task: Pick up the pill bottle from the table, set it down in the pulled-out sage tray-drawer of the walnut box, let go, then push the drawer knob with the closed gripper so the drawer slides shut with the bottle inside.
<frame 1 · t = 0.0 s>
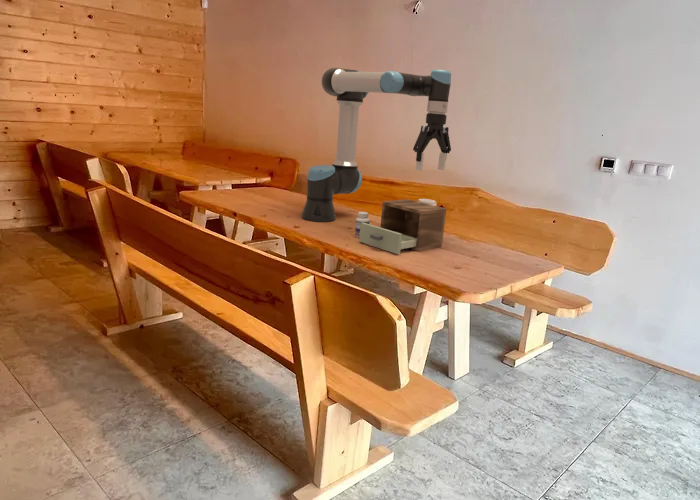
hand: (430, 170, 202), 28 cm above the table, fingers open, 13 cm apart
housing: (410, 242, 203), on the table
coffee cup: (423, 236, 216), on the table
drawer: (389, 236, 194), point 4 cm above the table, slide at 9.5 cm
pill bottle: (361, 237, 207), on the table
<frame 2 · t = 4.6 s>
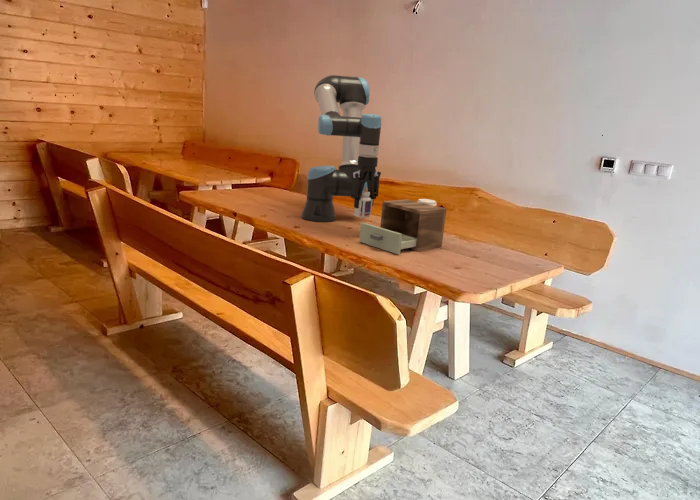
hand: (362, 215, 205), 9 cm above the table, fingers closed on pill bottle, 5 cm apart
pill bottle: (362, 216, 205), point 8 cm above the table, touching gripper
everything else where it was.
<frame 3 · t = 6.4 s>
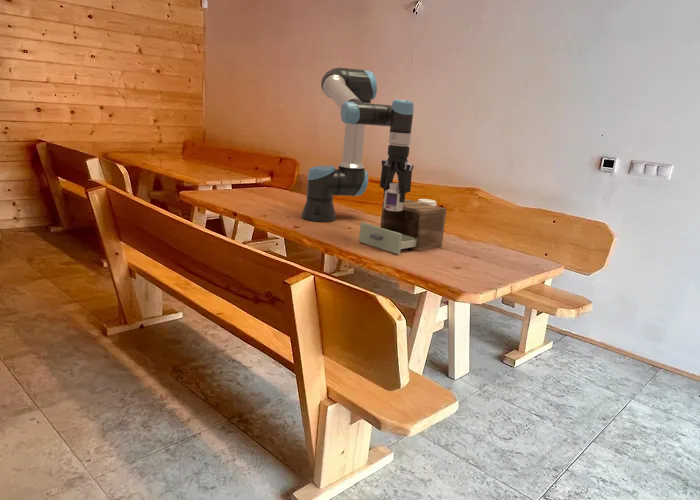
hand: (392, 209, 191), 14 cm above the table, fingers closed on pill bottle, 5 cm apart
pill bottle: (392, 210, 191), point 14 cm above the table, touching gripper
everything else where it was.
when the fingers open (3 cm above the table, at t = 8.6 s): pill bottle stays where it is, resting on drawer.
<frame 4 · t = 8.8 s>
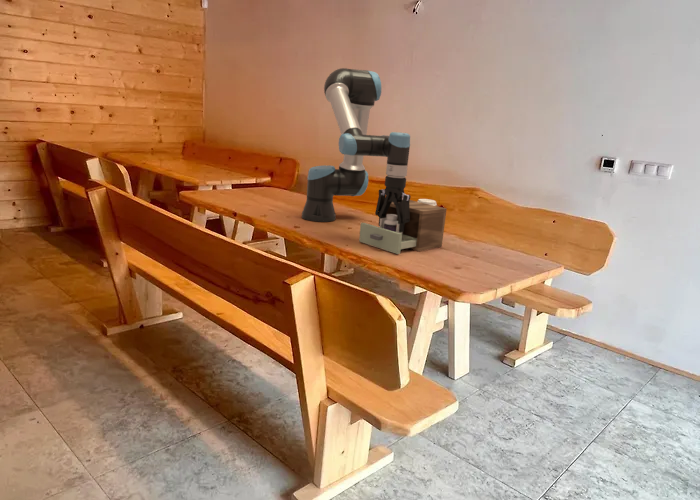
hand: (390, 237, 194), 3 cm above the table, fingers open, 8 cm apart
drawer: (389, 236, 194), point 4 cm above the table, slide at 9.5 cm, touching pill bottle
pill bottle: (389, 241, 194), point 2 cm above the table, touching drawer
everything else where it was.
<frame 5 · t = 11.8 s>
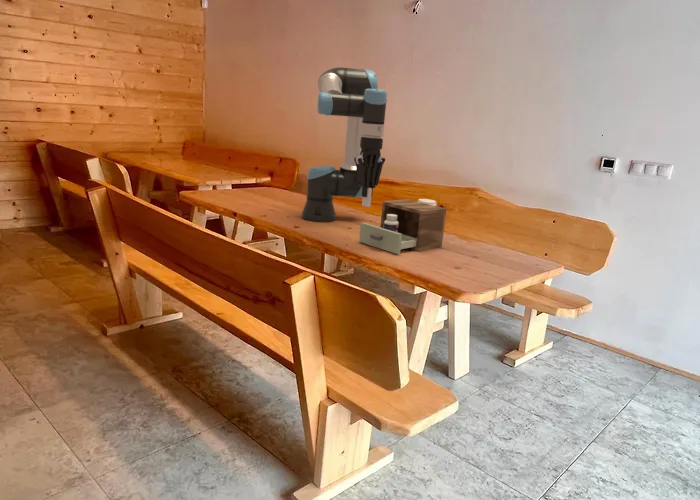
hand: (366, 206, 181), 16 cm above the table, fingers closed
nothing on the table moved.
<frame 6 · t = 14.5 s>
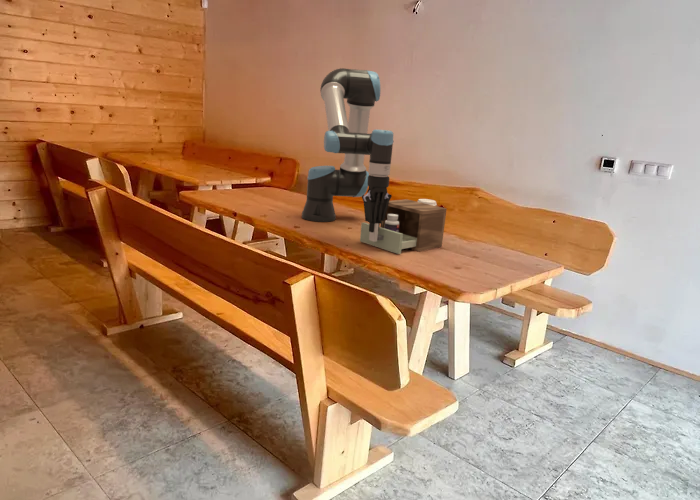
hand: (373, 240, 188), 3 cm above the table, fingers closed
drawer: (390, 236, 194), point 4 cm above the table, slide at 9.1 cm, touching gripper, pill bottle
everything else where it was.
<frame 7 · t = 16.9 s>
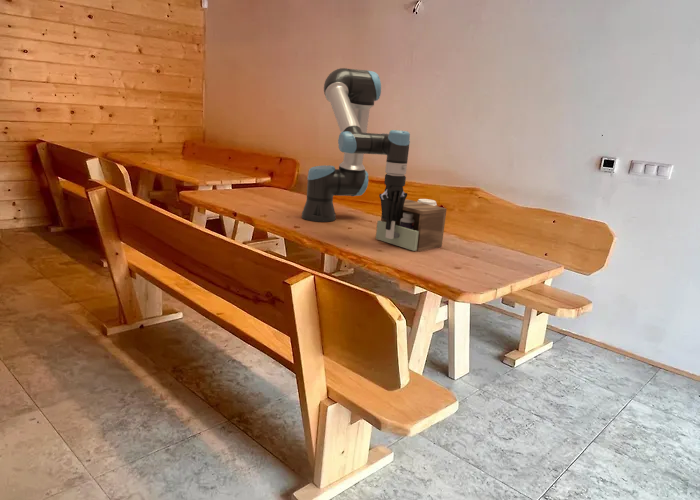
hand: (389, 237, 194), 3 cm above the table, fingers closed
drawer: (405, 233, 200), point 4 cm above the table, slide at 0.5 cm, touching gripper, pill bottle
pill bottle: (405, 238, 201), point 2 cm above the table, touching drawer
everything else where it was.
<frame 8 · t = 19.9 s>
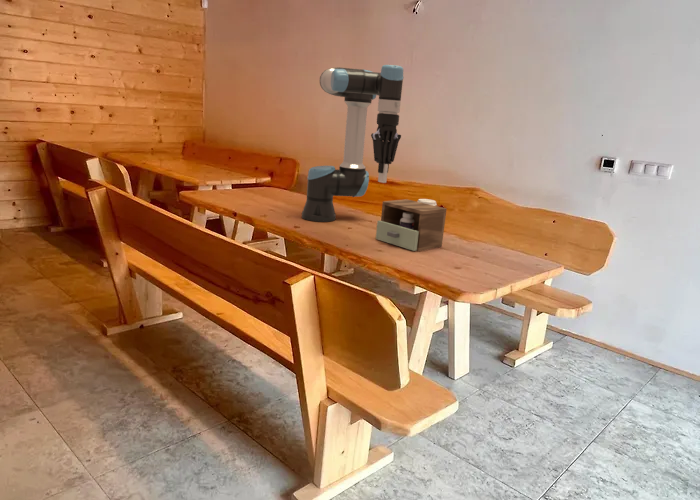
hand: (382, 182, 184), 24 cm above the table, fingers closed
drawer: (405, 233, 200), point 4 cm above the table, slide at 0.5 cm, touching pill bottle
everything else where it was.
at the end: drawer slide at 0.5 cm; pill bottle inside the target area (2.8 cm from its centre), point 2.1 cm above the table; pill bottle tilted 0° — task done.
